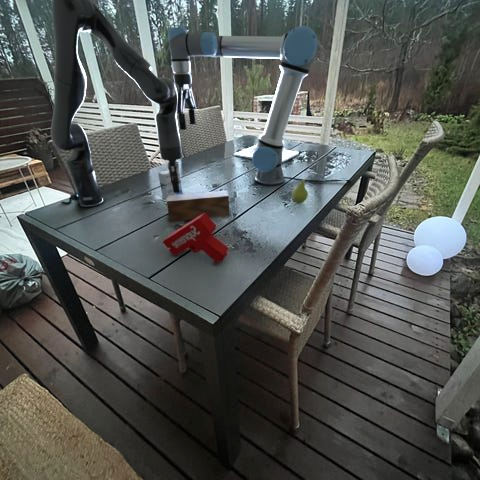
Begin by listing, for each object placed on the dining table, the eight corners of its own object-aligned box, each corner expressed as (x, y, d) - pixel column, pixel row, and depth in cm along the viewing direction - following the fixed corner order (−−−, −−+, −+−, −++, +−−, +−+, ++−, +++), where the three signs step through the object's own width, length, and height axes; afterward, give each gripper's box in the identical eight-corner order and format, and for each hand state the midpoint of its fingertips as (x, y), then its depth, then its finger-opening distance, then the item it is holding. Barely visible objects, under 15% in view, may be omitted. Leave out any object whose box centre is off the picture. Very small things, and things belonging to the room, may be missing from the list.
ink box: (177, 191, 132) (173, 167, 126) (183, 194, 129) (179, 170, 123) (161, 196, 127) (157, 172, 121) (167, 199, 124) (163, 174, 118)
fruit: (288, 200, 123) (290, 174, 116) (302, 197, 125) (305, 172, 119) (296, 206, 118) (299, 179, 111) (310, 203, 120) (314, 177, 114)
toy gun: (235, 250, 84) (205, 211, 80) (230, 257, 81) (199, 217, 77) (197, 268, 94) (169, 235, 90) (191, 276, 91) (162, 241, 87)
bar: (227, 209, 116) (226, 190, 111) (229, 215, 111) (228, 195, 106) (170, 214, 112) (166, 195, 107) (169, 221, 107) (166, 201, 102)
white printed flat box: (278, 164, 168) (279, 155, 165) (234, 155, 185) (234, 147, 183) (298, 154, 186) (299, 146, 183) (256, 147, 204) (256, 139, 201)
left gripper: (159, 140, 100) (167, 182, 109) (158, 150, 88) (166, 196, 97) (180, 139, 101) (185, 180, 110) (181, 148, 89) (187, 194, 98)
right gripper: (183, 73, 126) (189, 122, 138) (161, 74, 106) (170, 132, 117) (199, 72, 125) (203, 122, 137) (180, 74, 105) (187, 132, 116)
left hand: (176, 188), depth 103 cm, fingers open, 8 cm apart
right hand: (188, 126), depth 127 cm, fingers open, 13 cm apart
